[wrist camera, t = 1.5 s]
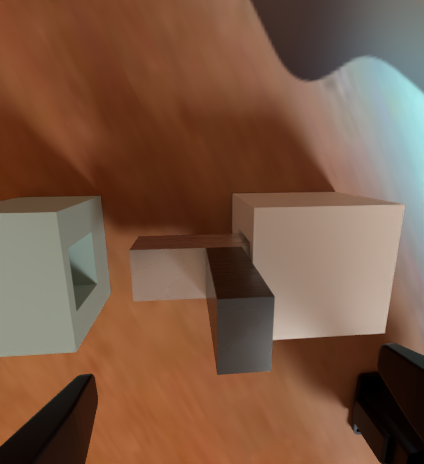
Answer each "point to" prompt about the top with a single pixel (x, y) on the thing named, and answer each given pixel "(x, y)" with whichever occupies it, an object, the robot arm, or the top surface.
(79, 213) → the socket block
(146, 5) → the top surface
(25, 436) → the robot arm
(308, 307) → the sleeve
